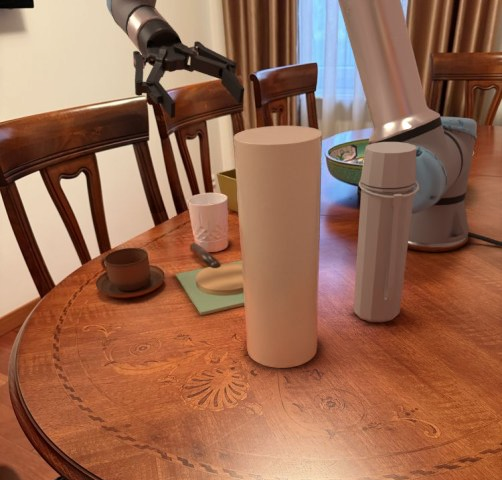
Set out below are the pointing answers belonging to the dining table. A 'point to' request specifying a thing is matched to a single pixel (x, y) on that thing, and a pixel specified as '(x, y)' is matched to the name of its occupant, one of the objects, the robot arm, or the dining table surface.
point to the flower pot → (229, 187)
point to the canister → (280, 240)
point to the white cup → (209, 220)
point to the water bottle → (384, 228)
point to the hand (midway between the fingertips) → (208, 103)
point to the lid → (217, 274)
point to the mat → (208, 295)
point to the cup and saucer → (128, 274)
